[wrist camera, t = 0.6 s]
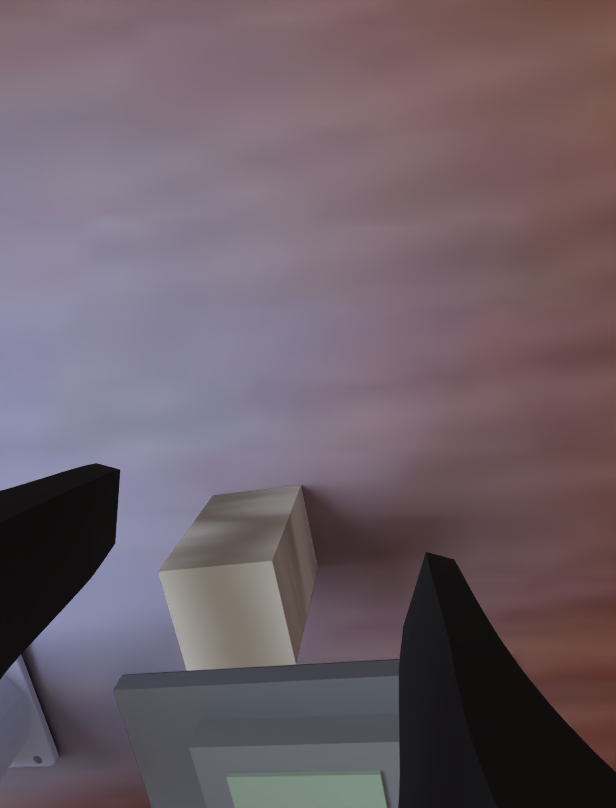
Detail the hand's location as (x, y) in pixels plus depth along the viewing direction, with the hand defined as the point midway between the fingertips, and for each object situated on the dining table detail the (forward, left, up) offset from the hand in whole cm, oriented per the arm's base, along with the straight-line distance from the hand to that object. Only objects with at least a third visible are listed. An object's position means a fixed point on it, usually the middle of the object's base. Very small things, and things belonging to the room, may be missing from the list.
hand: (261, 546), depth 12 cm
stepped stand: (-3, -19, -11) cm, 22 cm away
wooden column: (-3, -5, -11) cm, 12 cm away
